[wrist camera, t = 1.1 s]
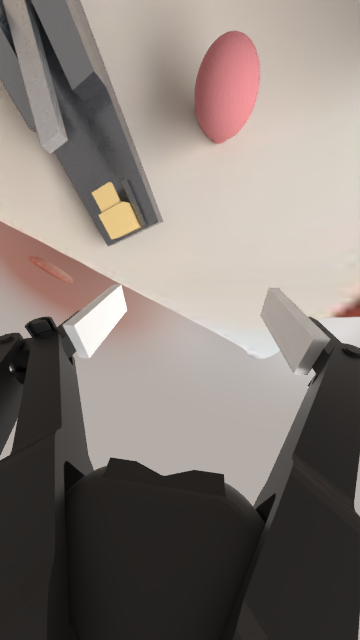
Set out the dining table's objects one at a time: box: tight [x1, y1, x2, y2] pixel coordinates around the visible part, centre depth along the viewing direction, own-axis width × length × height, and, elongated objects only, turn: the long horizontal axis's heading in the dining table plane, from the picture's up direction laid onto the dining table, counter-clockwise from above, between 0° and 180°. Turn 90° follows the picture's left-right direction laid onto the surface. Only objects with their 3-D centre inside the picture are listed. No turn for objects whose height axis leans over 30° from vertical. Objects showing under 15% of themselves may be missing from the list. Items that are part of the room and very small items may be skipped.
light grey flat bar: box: [3, 0, 68, 154], centre depth 19 cm, size 18×3×1 cm
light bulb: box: [195, 31, 260, 143], centre depth 21 cm, size 7×7×12 cm
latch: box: [92, 182, 141, 239], centre depth 28 cm, size 7×5×4 cm
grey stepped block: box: [0, 0, 163, 246], centre depth 26 cm, size 28×12×7 cm, turn 21°
